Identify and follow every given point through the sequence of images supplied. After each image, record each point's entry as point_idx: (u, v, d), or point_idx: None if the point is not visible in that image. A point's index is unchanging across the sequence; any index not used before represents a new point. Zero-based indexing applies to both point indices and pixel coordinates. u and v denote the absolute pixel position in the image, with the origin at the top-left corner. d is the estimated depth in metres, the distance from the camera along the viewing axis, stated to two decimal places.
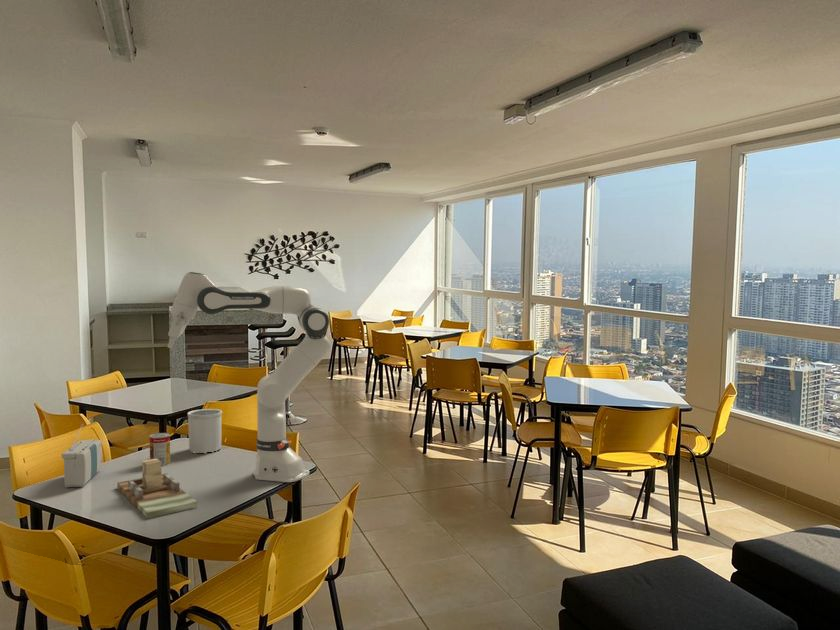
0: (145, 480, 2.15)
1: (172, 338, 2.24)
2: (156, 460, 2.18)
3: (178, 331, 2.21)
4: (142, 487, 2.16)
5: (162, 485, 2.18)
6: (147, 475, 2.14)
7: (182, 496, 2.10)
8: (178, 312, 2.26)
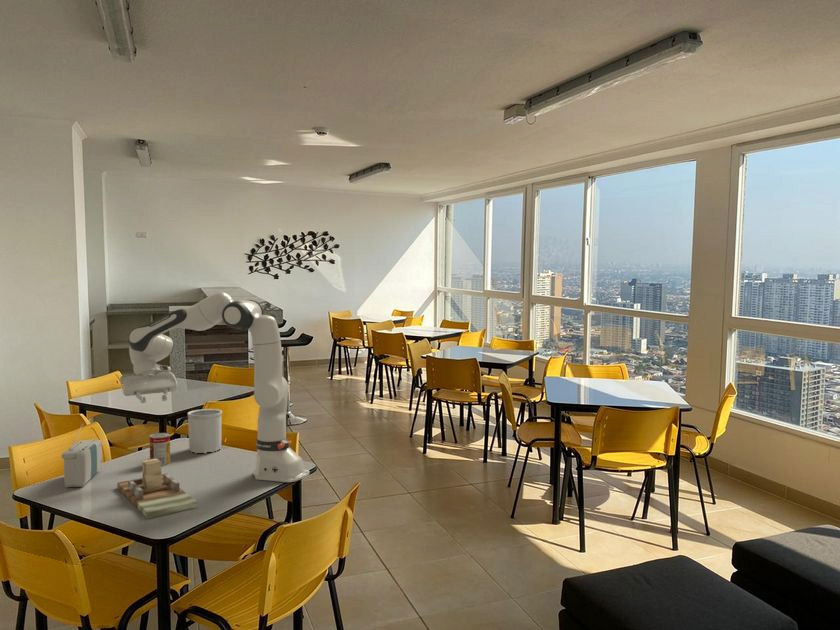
0: (145, 480, 2.15)
1: (136, 394, 2.35)
2: (156, 460, 2.18)
3: (124, 386, 2.33)
4: (142, 487, 2.16)
5: (162, 485, 2.18)
6: (147, 475, 2.14)
7: (182, 496, 2.10)
8: None
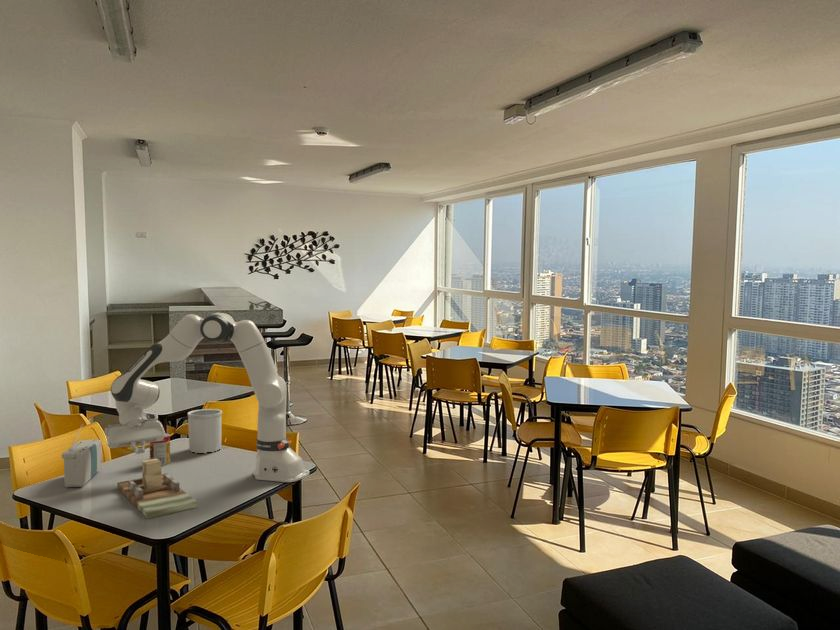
0: (145, 480, 2.15)
1: (131, 445, 2.28)
2: (156, 460, 2.18)
3: (108, 438, 2.24)
4: (142, 487, 2.16)
5: (162, 485, 2.18)
6: (147, 475, 2.14)
7: (182, 496, 2.10)
8: None
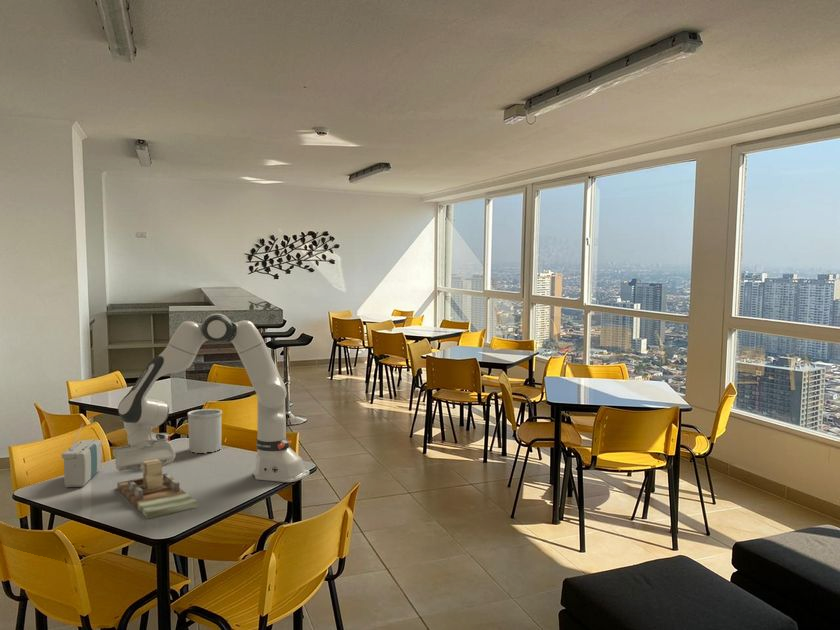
0: (146, 481, 2.14)
1: (140, 467, 2.19)
2: (157, 461, 2.17)
3: (117, 461, 2.16)
4: (143, 488, 2.15)
5: (163, 486, 2.17)
6: (148, 476, 2.13)
7: (182, 496, 2.10)
8: None
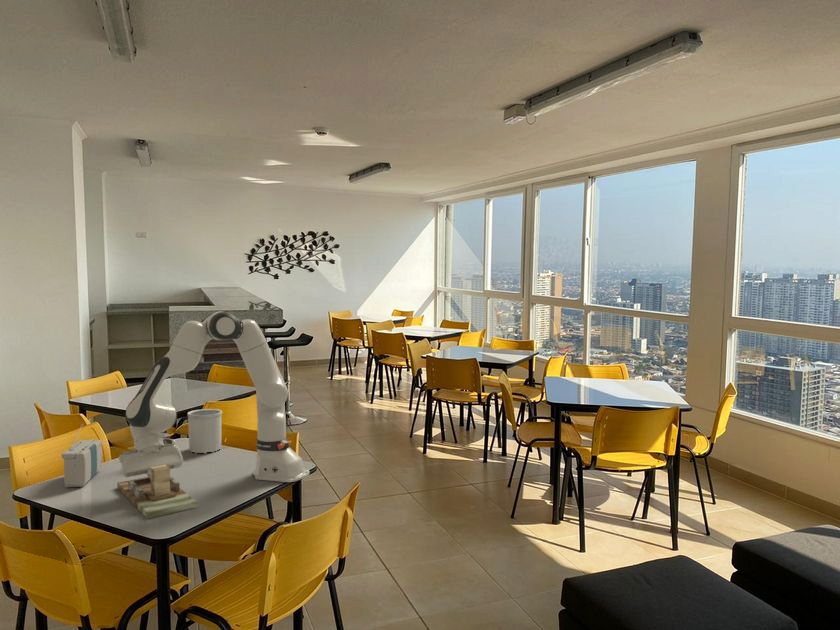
0: (153, 487, 2.08)
1: (147, 473, 2.13)
2: (165, 466, 2.11)
3: (123, 466, 2.09)
4: (150, 494, 2.08)
5: (171, 492, 2.11)
6: (155, 482, 2.07)
7: (182, 496, 2.10)
8: None
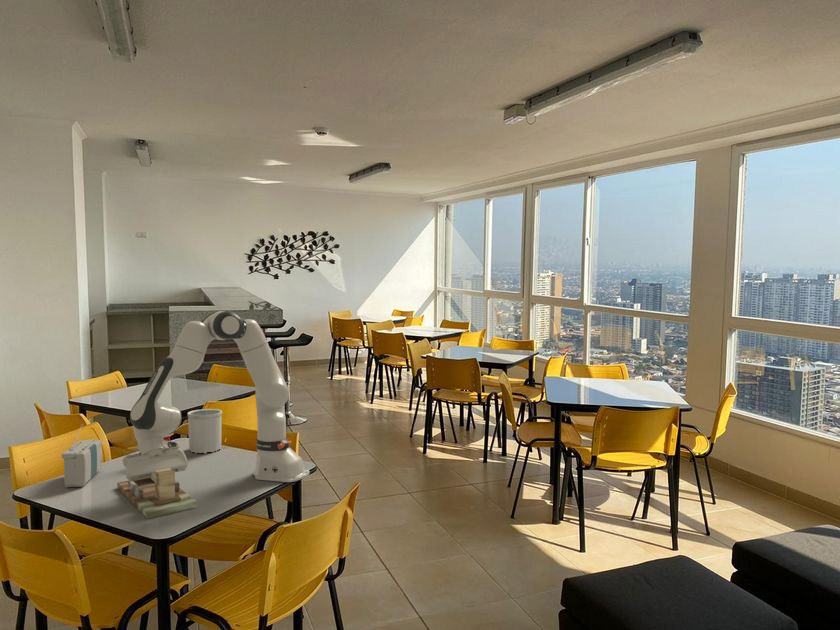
0: (158, 491, 2.04)
1: (151, 477, 2.09)
2: (169, 470, 2.07)
3: (127, 470, 2.05)
4: (155, 498, 2.05)
5: (176, 496, 2.07)
6: (160, 486, 2.03)
7: (182, 496, 2.10)
8: None
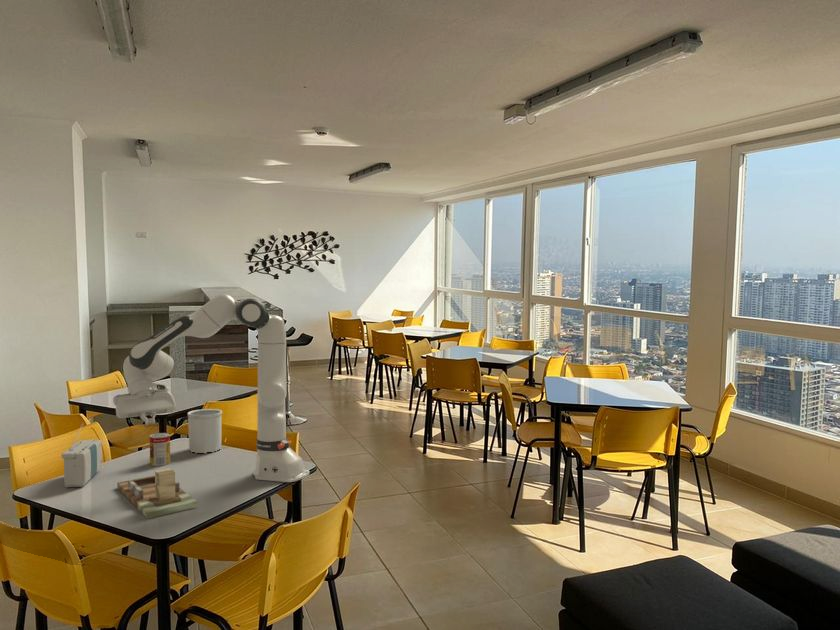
0: (158, 491, 2.04)
1: (141, 415, 2.18)
2: (169, 470, 2.07)
3: (117, 408, 2.14)
4: (155, 499, 2.04)
5: (176, 496, 2.07)
6: (160, 486, 2.03)
7: (182, 496, 2.10)
8: None
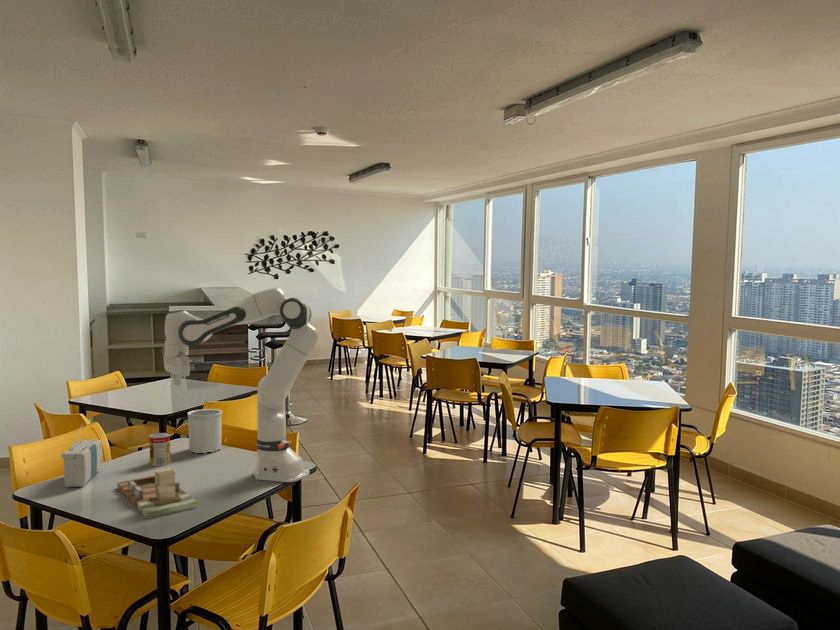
0: (158, 491, 2.04)
1: (179, 376, 2.41)
2: (169, 470, 2.07)
3: (188, 369, 2.36)
4: (155, 499, 2.04)
5: (176, 496, 2.07)
6: (160, 486, 2.03)
7: (182, 496, 2.10)
8: (176, 352, 2.38)
